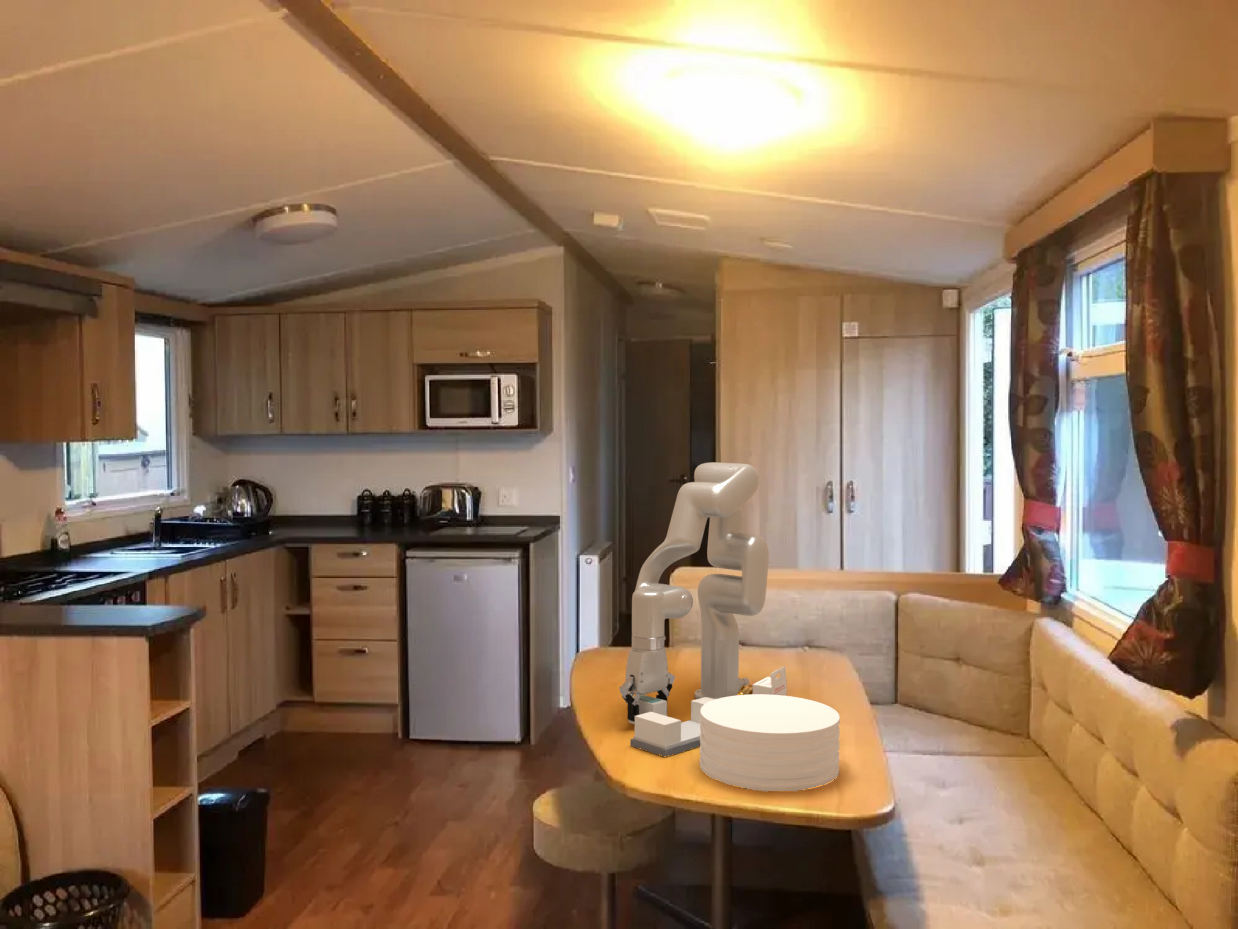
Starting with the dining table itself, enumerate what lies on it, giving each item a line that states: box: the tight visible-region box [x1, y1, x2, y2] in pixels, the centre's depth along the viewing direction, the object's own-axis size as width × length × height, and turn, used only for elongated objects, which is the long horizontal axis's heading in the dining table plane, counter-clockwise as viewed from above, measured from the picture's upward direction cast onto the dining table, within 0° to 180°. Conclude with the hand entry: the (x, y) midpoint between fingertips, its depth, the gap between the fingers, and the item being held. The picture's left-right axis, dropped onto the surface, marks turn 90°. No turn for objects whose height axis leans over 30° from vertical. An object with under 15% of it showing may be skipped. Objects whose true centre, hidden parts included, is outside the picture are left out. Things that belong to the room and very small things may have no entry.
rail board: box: [629, 697, 715, 757], centre depth 225 cm, size 24×10×7 cm, turn 133°
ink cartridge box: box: [752, 665, 788, 696], centre depth 231 cm, size 9×5×15 cm, turn 148°
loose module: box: [628, 694, 668, 725], centre depth 237 cm, size 4×8×6 cm, turn 44°
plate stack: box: [699, 693, 841, 792], centre depth 208 cm, size 28×28×12 cm
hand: (647, 716), depth 237 cm, fingers open, 8 cm apart
